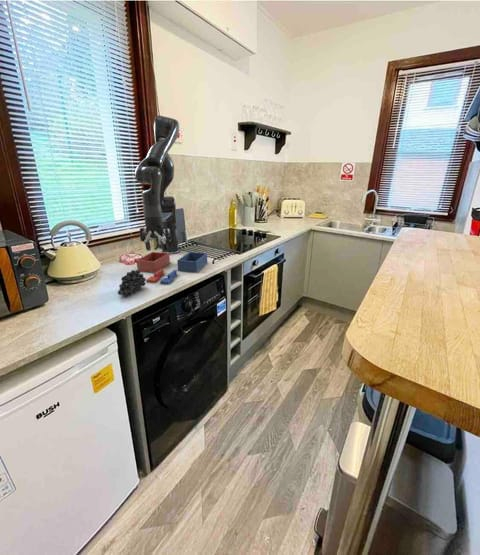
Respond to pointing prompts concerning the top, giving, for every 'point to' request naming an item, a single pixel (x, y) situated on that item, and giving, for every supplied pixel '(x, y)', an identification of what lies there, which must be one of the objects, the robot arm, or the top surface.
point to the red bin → (153, 262)
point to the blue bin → (192, 262)
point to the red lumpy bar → (156, 276)
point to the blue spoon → (169, 277)
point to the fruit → (131, 282)
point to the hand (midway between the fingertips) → (157, 250)
